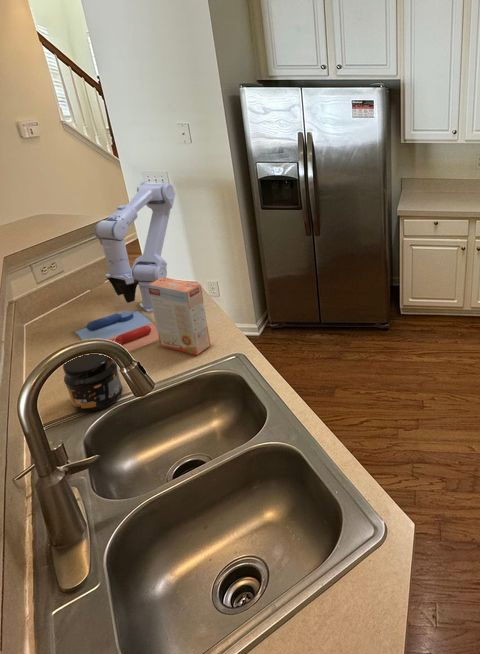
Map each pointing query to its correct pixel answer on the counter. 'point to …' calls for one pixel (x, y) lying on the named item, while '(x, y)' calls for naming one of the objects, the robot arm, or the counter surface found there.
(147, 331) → the red spoon
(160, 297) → the cracker box
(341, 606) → the counter surface
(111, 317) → the blue spoon
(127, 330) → the sorting mat
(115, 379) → the supplement container
